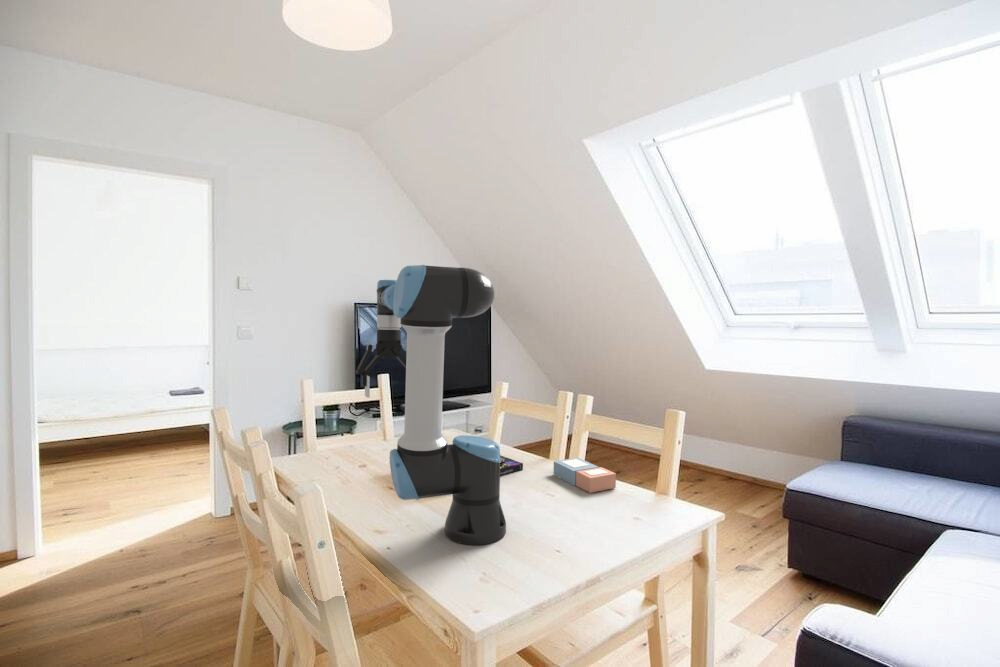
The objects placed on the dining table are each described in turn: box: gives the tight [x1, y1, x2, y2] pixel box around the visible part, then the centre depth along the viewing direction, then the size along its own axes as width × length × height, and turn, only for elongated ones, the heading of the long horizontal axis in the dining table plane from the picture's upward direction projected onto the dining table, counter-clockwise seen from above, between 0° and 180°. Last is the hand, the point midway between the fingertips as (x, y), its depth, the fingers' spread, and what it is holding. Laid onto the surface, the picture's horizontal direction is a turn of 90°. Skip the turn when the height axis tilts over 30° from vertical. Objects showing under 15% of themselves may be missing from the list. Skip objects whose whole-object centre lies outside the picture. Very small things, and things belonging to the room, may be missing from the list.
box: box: [500, 454, 524, 478], centre depth 170 cm, size 14×4×20 cm
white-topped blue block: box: [552, 457, 600, 487], centre depth 165 cm, size 12×10×5 cm
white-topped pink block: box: [576, 466, 617, 494], centre depth 156 cm, size 7×10×5 cm
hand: (388, 395), depth 159 cm, fingers open, 13 cm apart
